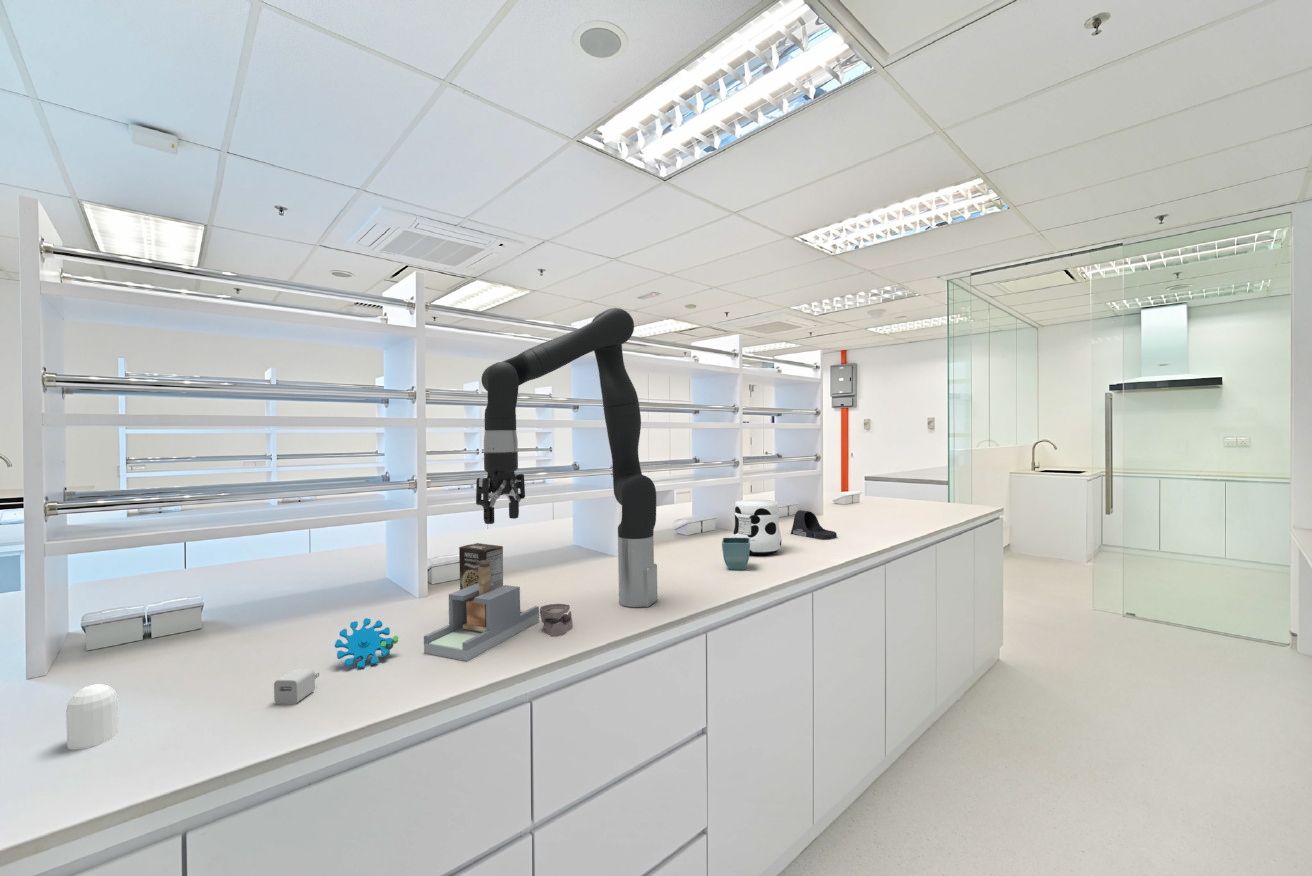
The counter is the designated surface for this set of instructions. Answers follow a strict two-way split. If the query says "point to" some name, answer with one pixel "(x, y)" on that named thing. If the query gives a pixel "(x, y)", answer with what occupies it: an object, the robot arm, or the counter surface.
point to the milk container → (758, 525)
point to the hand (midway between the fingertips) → (502, 520)
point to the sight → (810, 527)
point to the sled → (478, 610)
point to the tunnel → (499, 622)
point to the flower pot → (736, 552)
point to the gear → (365, 643)
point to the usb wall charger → (294, 686)
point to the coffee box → (470, 563)
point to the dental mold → (556, 619)
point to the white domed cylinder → (92, 717)
